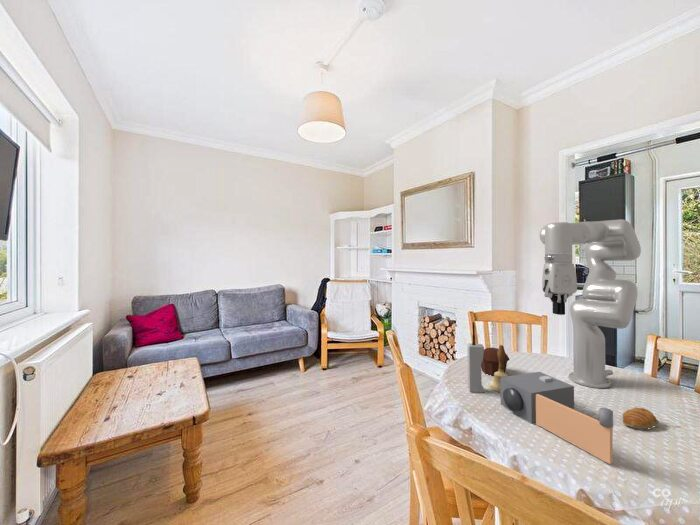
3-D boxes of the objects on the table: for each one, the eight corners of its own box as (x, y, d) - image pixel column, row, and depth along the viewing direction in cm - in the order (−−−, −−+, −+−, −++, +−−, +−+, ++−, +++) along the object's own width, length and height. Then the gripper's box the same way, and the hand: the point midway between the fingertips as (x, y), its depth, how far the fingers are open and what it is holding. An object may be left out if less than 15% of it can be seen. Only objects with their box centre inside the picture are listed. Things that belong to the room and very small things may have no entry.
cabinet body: (539, 397, 102) (539, 369, 101) (574, 415, 90) (573, 383, 90) (496, 405, 97) (496, 375, 97) (527, 424, 86) (526, 391, 85)
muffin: (476, 374, 123) (476, 350, 122) (480, 365, 132) (480, 343, 132) (508, 380, 116) (508, 355, 116) (510, 370, 126) (510, 347, 126)
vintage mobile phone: (484, 393, 106) (483, 323, 105) (469, 392, 107) (468, 323, 106) (482, 388, 109) (481, 321, 109) (467, 387, 110) (467, 321, 110)
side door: (615, 462, 69) (615, 411, 69) (609, 465, 68) (609, 413, 68) (540, 422, 86) (539, 381, 85) (534, 424, 85) (533, 382, 85)
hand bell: (510, 384, 113) (509, 342, 112) (516, 394, 104) (516, 349, 104) (486, 382, 115) (486, 341, 114) (491, 392, 107) (490, 348, 106)
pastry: (647, 435, 80) (646, 421, 80) (615, 423, 86) (615, 410, 86) (660, 425, 84) (659, 412, 84) (629, 415, 90) (629, 402, 90)
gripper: (550, 260, 94) (551, 317, 94) (586, 259, 97) (587, 314, 98) (530, 260, 101) (531, 313, 101) (565, 259, 105) (565, 310, 105)
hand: (558, 313), depth 99 cm, fingers closed
